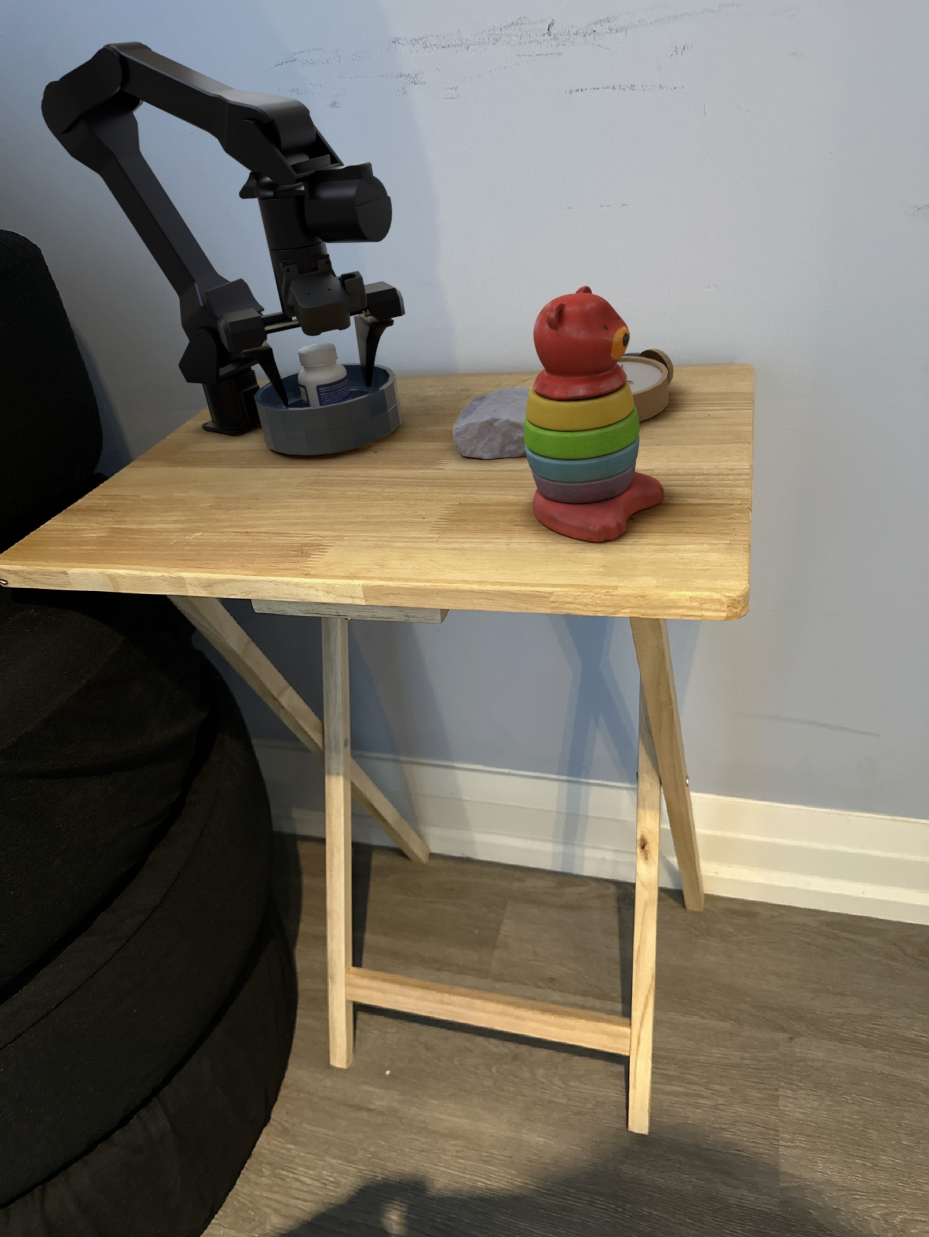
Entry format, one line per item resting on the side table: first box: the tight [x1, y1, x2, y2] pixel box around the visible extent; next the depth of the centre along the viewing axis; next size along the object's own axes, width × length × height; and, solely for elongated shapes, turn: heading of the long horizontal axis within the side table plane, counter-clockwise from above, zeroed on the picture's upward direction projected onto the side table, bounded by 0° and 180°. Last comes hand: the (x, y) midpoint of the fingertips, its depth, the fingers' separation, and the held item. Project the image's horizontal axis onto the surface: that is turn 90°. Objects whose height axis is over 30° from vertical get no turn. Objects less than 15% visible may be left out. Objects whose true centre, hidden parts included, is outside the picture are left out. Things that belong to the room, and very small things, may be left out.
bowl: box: [254, 362, 403, 456], centre depth 101 cm, size 15×15×6 cm
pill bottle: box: [297, 342, 352, 408], centre depth 100 cm, size 5×5×9 cm
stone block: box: [452, 386, 531, 460], centre depth 95 cm, size 12×5×10 cm
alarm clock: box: [617, 348, 674, 423], centre depth 99 cm, size 11×5×15 cm
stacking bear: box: [524, 285, 665, 542], centre depth 74 cm, size 11×10×18 cm
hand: (327, 396), depth 100 cm, fingers open, 9 cm apart
